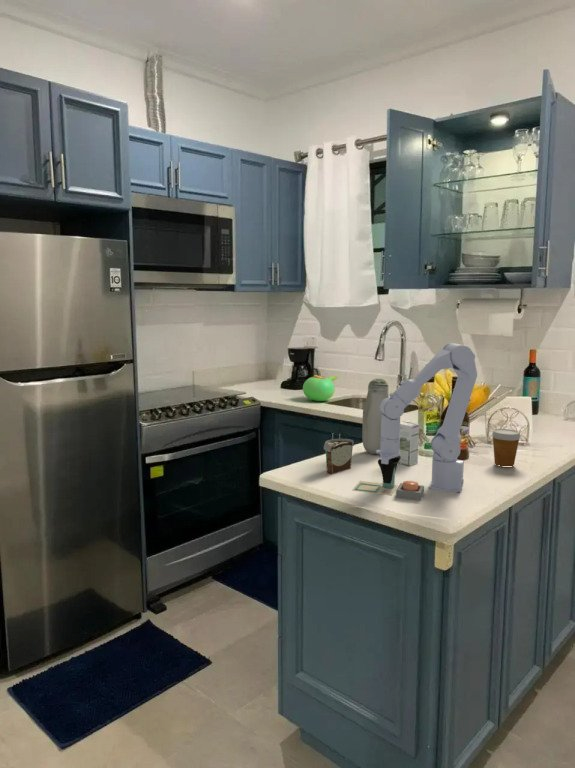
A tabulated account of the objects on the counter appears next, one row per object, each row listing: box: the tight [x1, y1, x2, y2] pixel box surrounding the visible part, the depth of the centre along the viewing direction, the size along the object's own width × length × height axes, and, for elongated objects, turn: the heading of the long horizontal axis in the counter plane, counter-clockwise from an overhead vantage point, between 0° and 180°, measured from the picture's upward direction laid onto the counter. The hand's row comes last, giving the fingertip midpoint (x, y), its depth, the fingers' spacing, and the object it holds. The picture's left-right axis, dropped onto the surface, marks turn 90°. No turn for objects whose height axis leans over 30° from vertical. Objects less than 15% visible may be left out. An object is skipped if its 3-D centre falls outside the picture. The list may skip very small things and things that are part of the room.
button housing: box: [395, 482, 425, 502], centre depth 174 cm, size 7×7×3 cm
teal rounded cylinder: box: [382, 466, 397, 489], centre depth 181 cm, size 4×4×8 cm
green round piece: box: [302, 374, 339, 402], centre depth 330 cm, size 18×17×15 cm
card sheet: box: [352, 480, 399, 496], centre depth 181 cm, size 12×10×1 cm
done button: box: [402, 480, 419, 492], centre depth 174 cm, size 4×4×2 cm
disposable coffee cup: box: [491, 428, 522, 467], centre depth 207 cm, size 10×10×12 cm
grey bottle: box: [361, 378, 390, 455], centre depth 220 cm, size 10×10×28 cm
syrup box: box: [398, 420, 420, 467], centre depth 208 cm, size 6×6×14 cm
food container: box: [323, 438, 355, 475], centre depth 199 cm, size 12×6×10 cm, turn 134°
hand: (388, 481), depth 182 cm, fingers closed on teal rounded cylinder, 4 cm apart
